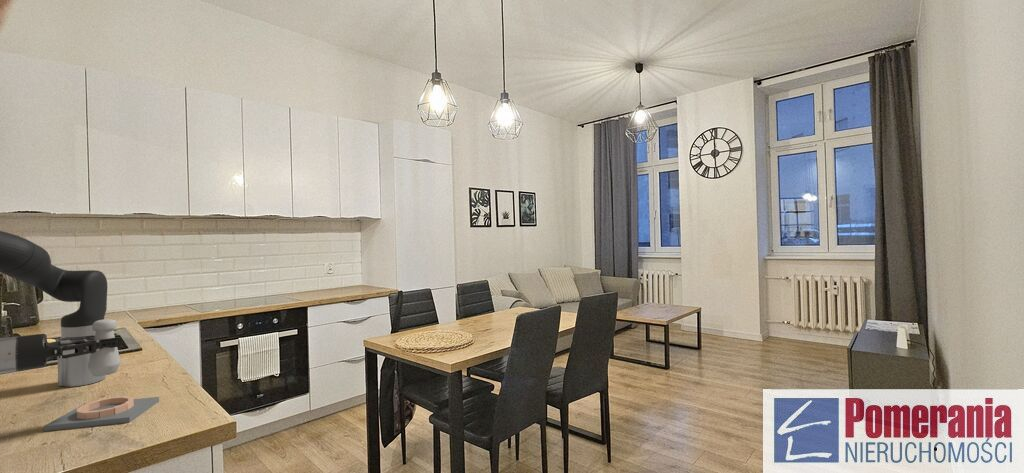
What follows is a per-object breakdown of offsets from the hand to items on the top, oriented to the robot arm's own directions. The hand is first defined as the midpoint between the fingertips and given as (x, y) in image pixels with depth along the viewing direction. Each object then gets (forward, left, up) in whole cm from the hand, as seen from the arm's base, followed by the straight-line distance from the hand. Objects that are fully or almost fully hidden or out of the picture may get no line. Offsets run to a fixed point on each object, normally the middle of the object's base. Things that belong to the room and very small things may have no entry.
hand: (120, 340), depth 107 cm
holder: (-2, -1, -18) cm, 18 cm away
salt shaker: (-2, -2, -8) cm, 8 cm away
